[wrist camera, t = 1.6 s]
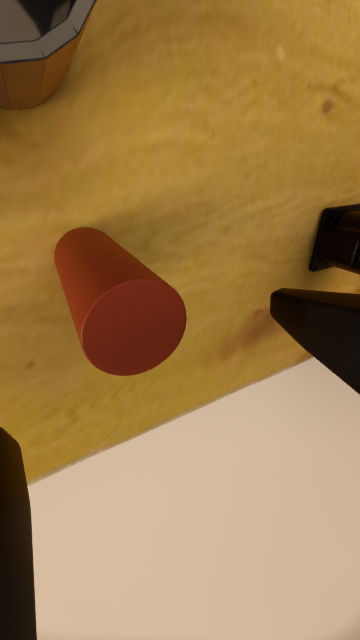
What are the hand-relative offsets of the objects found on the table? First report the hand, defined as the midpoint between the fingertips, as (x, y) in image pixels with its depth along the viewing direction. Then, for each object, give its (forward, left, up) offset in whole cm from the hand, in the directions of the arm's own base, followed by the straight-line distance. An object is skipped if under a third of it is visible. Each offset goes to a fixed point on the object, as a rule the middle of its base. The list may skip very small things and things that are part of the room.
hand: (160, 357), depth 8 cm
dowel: (0, 0, -12) cm, 12 cm away
